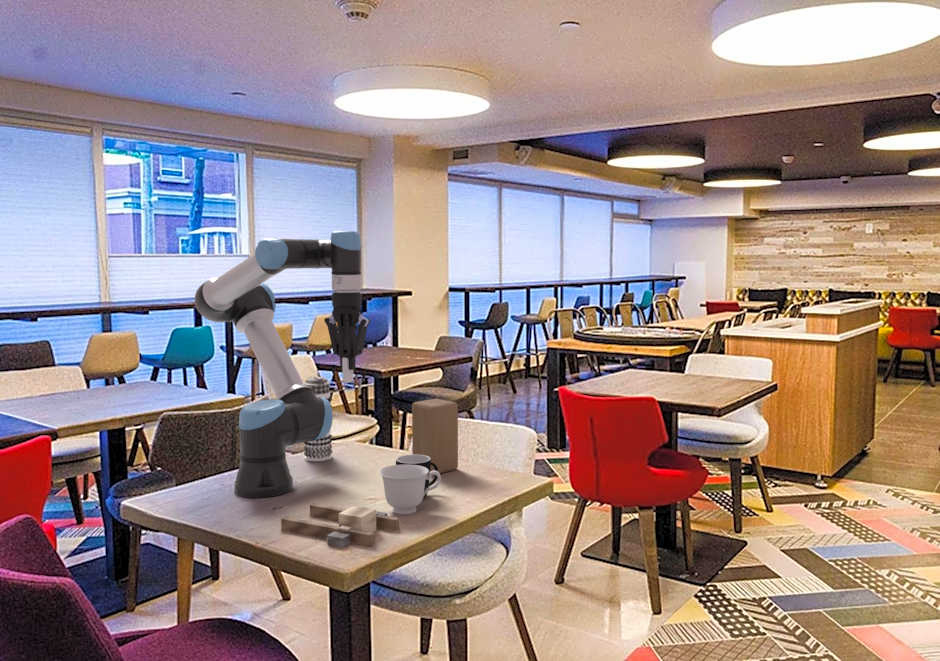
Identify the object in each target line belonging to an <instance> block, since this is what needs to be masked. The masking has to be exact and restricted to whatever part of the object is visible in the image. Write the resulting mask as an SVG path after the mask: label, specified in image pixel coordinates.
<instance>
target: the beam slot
mask: <svg viewBox="0 0 940 661" xmlns="http://www.w3.org/2000/svg"><path fill="white" fill-rule="evenodd" d="M346 509H347V508H343V507H342V508H341V507H336V506H332V505H331V506H330V505H327V504H326V505H325V504H320V503H319V504H318V503H312V504H310V505H309V516H312V517H316V518H317V517H318V518H323V519H329V520H334V521H338V522H339V513H341V512H343V511H345V510H346ZM280 527H281V528H280V530H282V529H284V530H283V531H287V530H289V531H288V532H292V531H294V532H293V533H297V534H298V533H299V534H303V535H309V536H314V537H320V538H324V539H327V543H326V544H327V545H329V546H332V547H333V546H335V547H339V548H345V547H346V546H348V545H350V544H355V545H361V546H365V547H366V546H367V547H372V546H374V545H375V533H374V532H366V531H361V530H356V529H352V527H347V526H341V527H339V525H333V524H327V523H321V522H317V521H312V520H311V521H310V520H306V519H299V518H295V517H290V516H284V517H282V518H281V519H280ZM376 528H379V529H383V530H389V531H398V530H400V518H399V517H395V516H390V515H389V516H388V512H384V511H378V510H376Z"/></svg>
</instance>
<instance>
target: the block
mask: <svg viewBox="0 0 940 661" xmlns="http://www.w3.org/2000/svg"><path fill="white" fill-rule="evenodd" d="M458 407H459V405H458V402H455V401H450V400H445V399H441V398H431V399H424V400H419V401H415V402H412V406H411V415H412V416H411V422H412V423H411V430H412V433H411V435H412V436H411V437H412V439H411V441H412V442H411V443H412V444H411V445H412V454H418V455H425V456H428V457H430V459H431V462H432V463H434V464H435V465H436V466H437V468H438V472H439V473H440V474H442V473H446V472H451V471H454V470H458V467H459V408H458ZM434 470H435V469H434V467H433V466H432V465H431V470H430V472H431V471H434Z"/></svg>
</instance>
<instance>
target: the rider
mask: <svg viewBox="0 0 940 661" xmlns="http://www.w3.org/2000/svg"><path fill="white" fill-rule="evenodd" d="M345 509H346V510H345V511H343V512H341V513H339V521H338V526H339V527H341V526H347V527H352V529H356V530H361V531H366V532H372V533H374V532H376V531H377V527H376V511H377V509H376V508H370V507H364V506H357V505H351V507H348V508H345Z"/></svg>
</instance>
